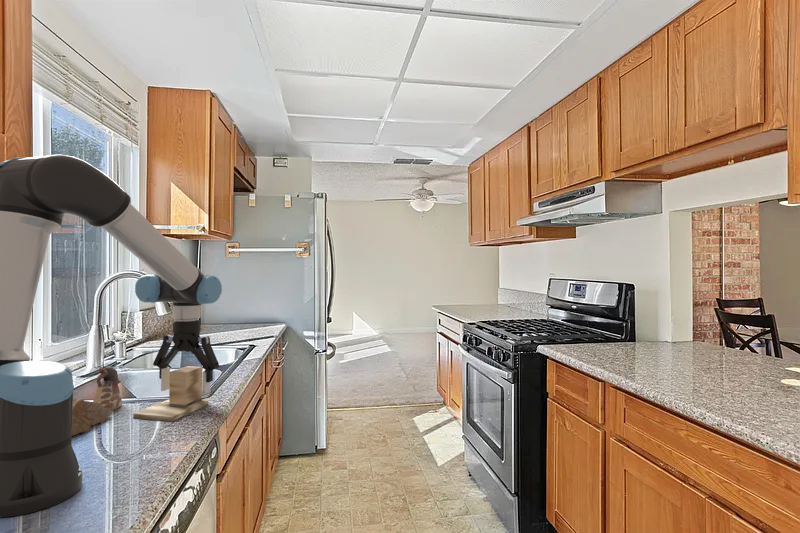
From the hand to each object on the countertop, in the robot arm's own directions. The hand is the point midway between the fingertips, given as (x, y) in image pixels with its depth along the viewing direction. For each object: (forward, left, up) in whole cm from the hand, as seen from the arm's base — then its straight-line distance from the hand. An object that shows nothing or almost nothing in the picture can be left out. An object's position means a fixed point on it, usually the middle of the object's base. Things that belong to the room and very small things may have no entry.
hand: (185, 391), depth 134 cm
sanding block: (0, 0, -3) cm, 4 cm away
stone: (-21, +16, -5) cm, 26 cm away
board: (-4, +2, -5) cm, 6 cm away
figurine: (-5, +22, -5) cm, 23 cm away
